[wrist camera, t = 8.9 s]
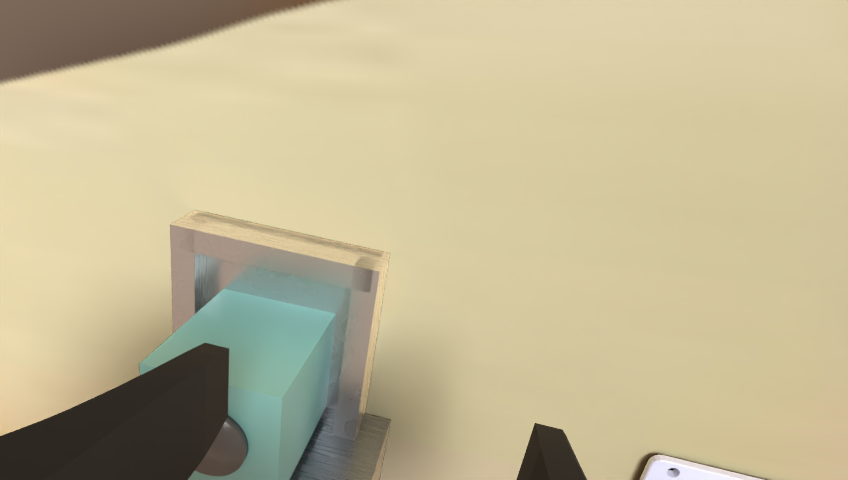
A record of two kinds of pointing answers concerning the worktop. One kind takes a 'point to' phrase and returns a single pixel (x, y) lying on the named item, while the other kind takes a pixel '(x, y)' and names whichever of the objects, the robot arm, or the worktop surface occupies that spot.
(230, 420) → the teal block with knob
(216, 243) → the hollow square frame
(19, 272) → the worktop surface
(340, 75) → the worktop surface
